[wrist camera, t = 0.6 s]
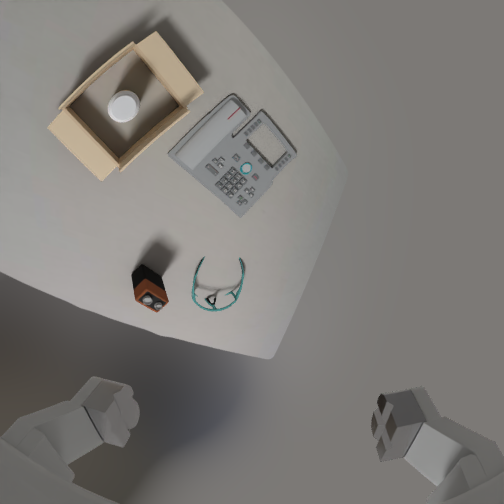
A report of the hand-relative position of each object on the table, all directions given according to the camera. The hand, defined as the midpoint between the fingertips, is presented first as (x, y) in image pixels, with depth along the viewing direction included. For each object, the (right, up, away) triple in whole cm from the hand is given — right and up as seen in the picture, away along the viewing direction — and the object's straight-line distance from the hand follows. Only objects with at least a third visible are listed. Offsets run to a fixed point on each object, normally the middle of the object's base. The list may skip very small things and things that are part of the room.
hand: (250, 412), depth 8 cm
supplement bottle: (-23, +32, +34) cm, 51 cm away
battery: (-25, -1, +56) cm, 62 cm away
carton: (-23, +31, +33) cm, 51 cm away
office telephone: (-3, +26, +50) cm, 56 cm away
